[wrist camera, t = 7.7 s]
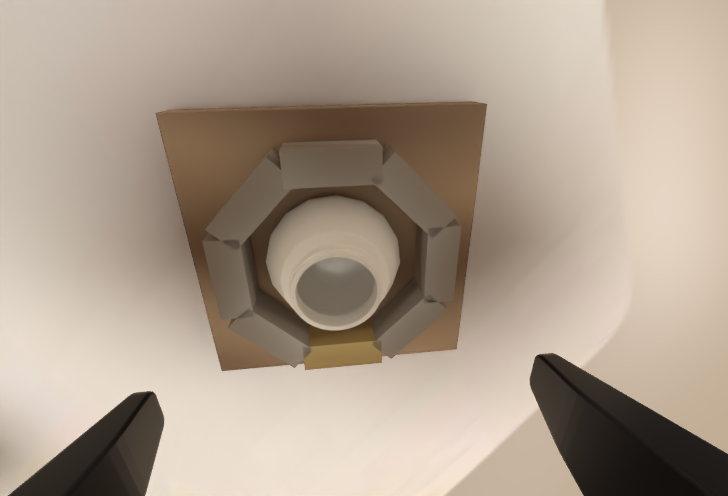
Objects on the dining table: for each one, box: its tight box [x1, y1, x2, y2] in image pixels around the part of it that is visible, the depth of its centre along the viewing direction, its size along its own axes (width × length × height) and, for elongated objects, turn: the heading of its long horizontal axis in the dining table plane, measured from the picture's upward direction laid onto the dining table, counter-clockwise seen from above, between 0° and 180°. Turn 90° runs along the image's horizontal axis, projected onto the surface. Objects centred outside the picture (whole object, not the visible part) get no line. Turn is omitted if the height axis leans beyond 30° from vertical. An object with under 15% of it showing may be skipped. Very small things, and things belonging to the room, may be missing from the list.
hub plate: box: [156, 102, 487, 371], centre depth 14 cm, size 11×11×3 cm
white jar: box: [266, 195, 400, 330], centre depth 13 cm, size 5×3×5 cm
